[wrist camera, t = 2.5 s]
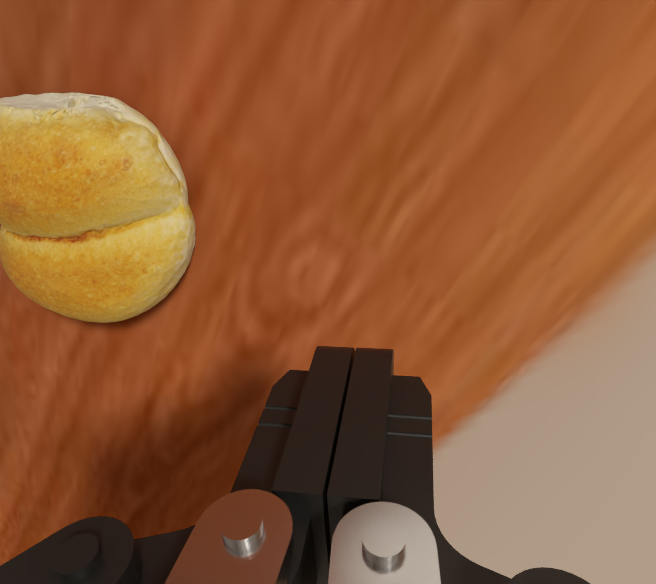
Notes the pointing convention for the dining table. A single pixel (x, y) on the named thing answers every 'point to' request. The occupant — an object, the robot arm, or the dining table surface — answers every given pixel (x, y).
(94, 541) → the robot arm
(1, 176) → the bread roll
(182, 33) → the dining table surface
